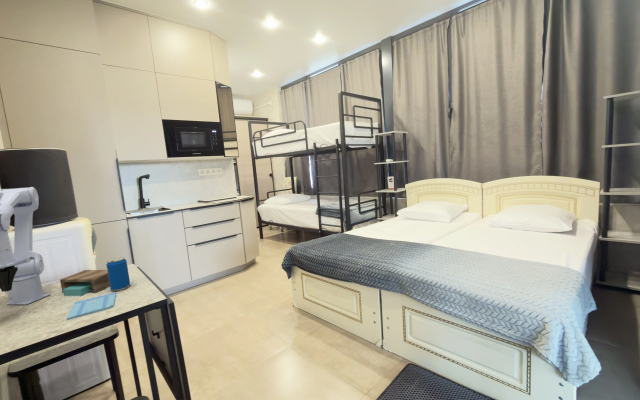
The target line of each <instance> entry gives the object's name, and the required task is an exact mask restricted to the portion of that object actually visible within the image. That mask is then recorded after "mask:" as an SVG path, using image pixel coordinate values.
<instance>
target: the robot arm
mask: <svg viewBox="0 0 640 400" xmlns="http://www.w3.org/2000/svg"><path fill="white" fill-rule="evenodd" d="M39 199H40V197H39V194H38V190H37V189H36V188H35V187H34V186H30V187H19V188H16V187H15V188H0V291H1V292H4V293H7V298H8V302H6V305H18V306H19V305H29V304H31V303H34V302H36V301H38V300H42V299H43V298H46V297H48V296H50V295H51V294H50V293H44V291H43V286H42V281H41V277H40V275H41V274H42V273H43V272H44V271H45V263H44V259H43V258H44V257H43V255H41V253H38V252H36V251H33V216H34V215H33V214H34V212H35V211H37V210H38V209H39ZM13 215H14V238H13V239H14V240H13V241H14V242H13V245H14V246H13V248H14V249H12V247H11V242H10V237H9V236H10V235H9V231H8V230H10V227H11V217H12V216H13ZM12 250H13V251H12Z"/></svg>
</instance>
